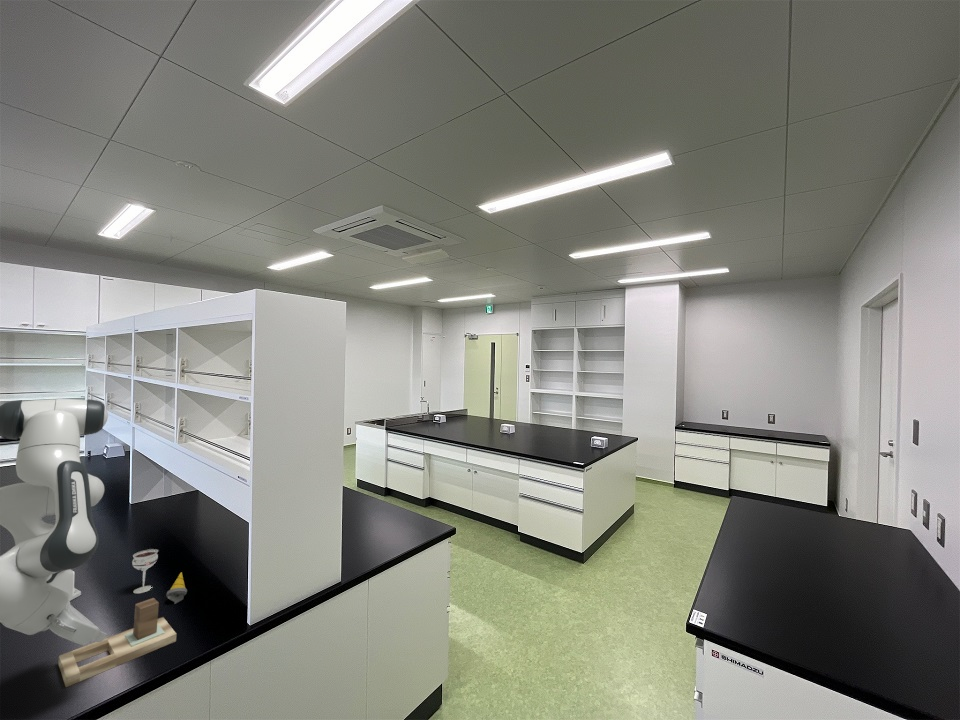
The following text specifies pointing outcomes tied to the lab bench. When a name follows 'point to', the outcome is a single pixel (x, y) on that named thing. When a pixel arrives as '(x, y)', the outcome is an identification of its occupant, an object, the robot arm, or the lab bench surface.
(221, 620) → the lab bench surface
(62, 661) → the puzzle board
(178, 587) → the ice cream cone
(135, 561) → the wineglass
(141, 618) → the walnut peg
